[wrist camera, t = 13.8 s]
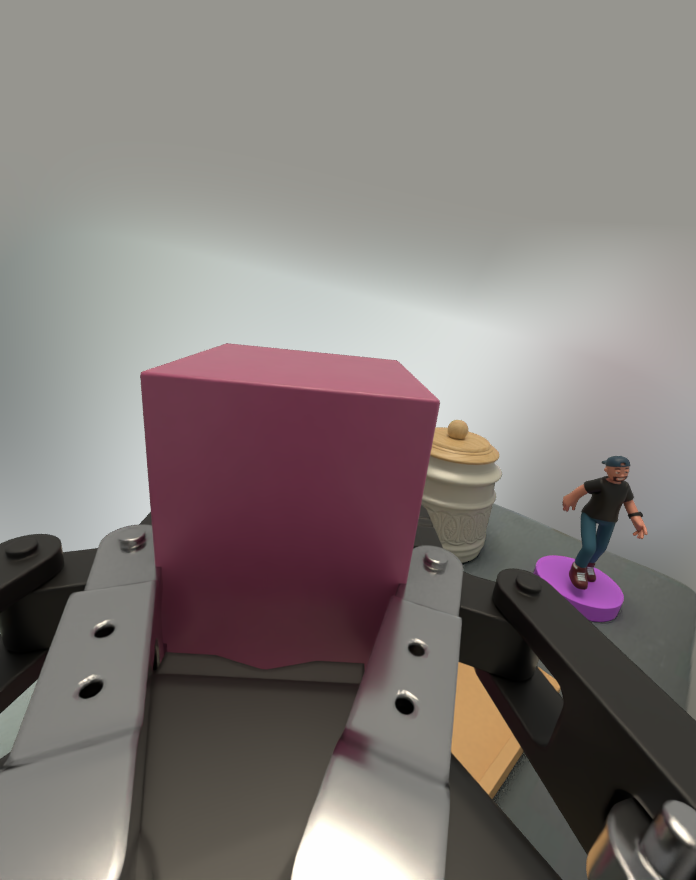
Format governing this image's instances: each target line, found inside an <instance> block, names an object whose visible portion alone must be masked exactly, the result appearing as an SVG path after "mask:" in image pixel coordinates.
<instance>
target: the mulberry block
mask: <svg viewBox="0 0 696 880" xmlns="http://www.w3.org/2000/svg"><path fill="white" fill-rule="evenodd" d="M140 378H141V391H142V403H143V416H144V428H145V442H146V454H147V468H148V481H149V493H150V506H151V519H152V532H153V545H154V558H155V566H157V567H162V581H163V590H162V605H161V619H162V635H163V643H166V644H167V651H168V652H173V653H190V654H208V655H217V656H221V657H224V658H227V659H230V660H234V661H237V662H240V663H243V664H247V665H250V666H253V667H256V668H260V669H272V668H278V667H283V666H289V665H295V664H300V663H306V662H312V661H332V662H349V663H364V667H365V669H366V666H367V663H368V660H369V657H370V655H371V652H372V649H373V646H374V643H375V640H376V637H377V635H378V632H379V629H380V626H381V623H382V620H383V617H384V615H385V612H386V609H387V606H388V603H389V600H390V598H391V596H392V595H394V596H395V594H396V591H397V588H398V585H399V583H403V584H405V583H407V579H408V573H409V568H410V563H411V557H412V552H413V546H414V541H415V536H416V530H417V525H418V519H419V514H420V508H421V503H422V498H423V492H424V487H425V481H426V476H427V471H428V465H429V460H430V454H431V449H432V444H433V438H434V433H435V427H436V422H437V416H438V411H439V405H440V401H439V400H438V399H437V398H436V397H435V396H434V395H433V394H432V393H431V392H430V391H429V390H428V389H427V388H426V387H425V386H424V385H423V384H422V383H420V382H419V381H418V380H417V379H416V378H415V377H414V376H413V375H412V374H411V373H410V372H409V371H408V370H407V369H406V368H405V367H404V366H403V365H402V364H400V363H399V362H398V361H397V360H386V359H377V358H368V357H358V356H347V355H338V354H328V353H318V352H308V351H298V350H288V349H278V348H268V347H258V346H248V345H238V344H228V343H227V344H224V345H221V346H218V347H215V348H212V349H209V350H206V351H203V352H200V353H197V354H194V355H191V356H188V357H185V358H182V359H179V360H176V361H173V362H170V363H167V364H164V365H161V366H158V367H155V368H152V369H149V370H146V371H143V372H141V375H140Z"/></svg>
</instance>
